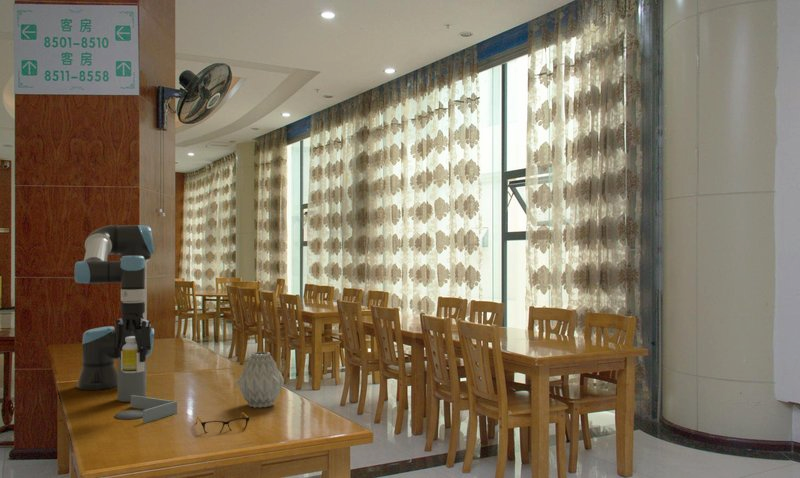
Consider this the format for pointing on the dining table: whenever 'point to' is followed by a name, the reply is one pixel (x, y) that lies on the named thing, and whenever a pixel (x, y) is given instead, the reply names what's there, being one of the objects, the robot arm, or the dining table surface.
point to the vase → (260, 380)
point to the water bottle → (131, 383)
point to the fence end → (159, 412)
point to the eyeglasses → (224, 422)
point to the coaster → (130, 414)
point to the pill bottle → (129, 355)
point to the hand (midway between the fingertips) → (132, 370)
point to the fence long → (147, 402)
